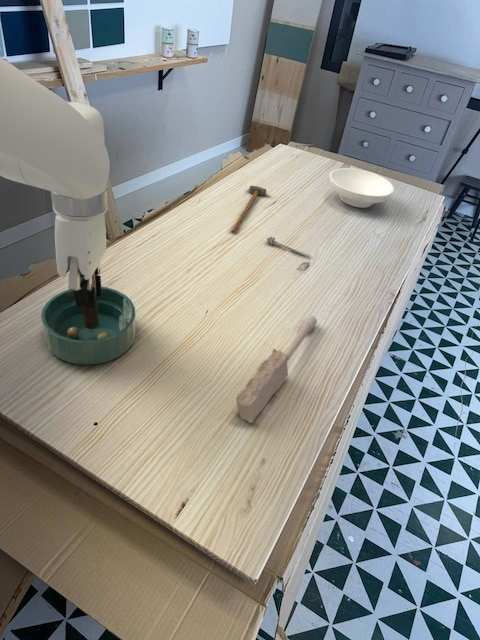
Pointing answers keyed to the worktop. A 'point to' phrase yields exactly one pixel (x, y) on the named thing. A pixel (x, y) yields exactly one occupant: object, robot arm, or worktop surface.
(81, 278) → the stick
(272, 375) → the tan handled block
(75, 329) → the bead
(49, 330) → the mixing bowl
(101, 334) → the bead
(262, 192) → the sledgehammer
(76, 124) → the robot arm
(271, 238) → the screw
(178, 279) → the worktop surface
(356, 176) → the bowl
